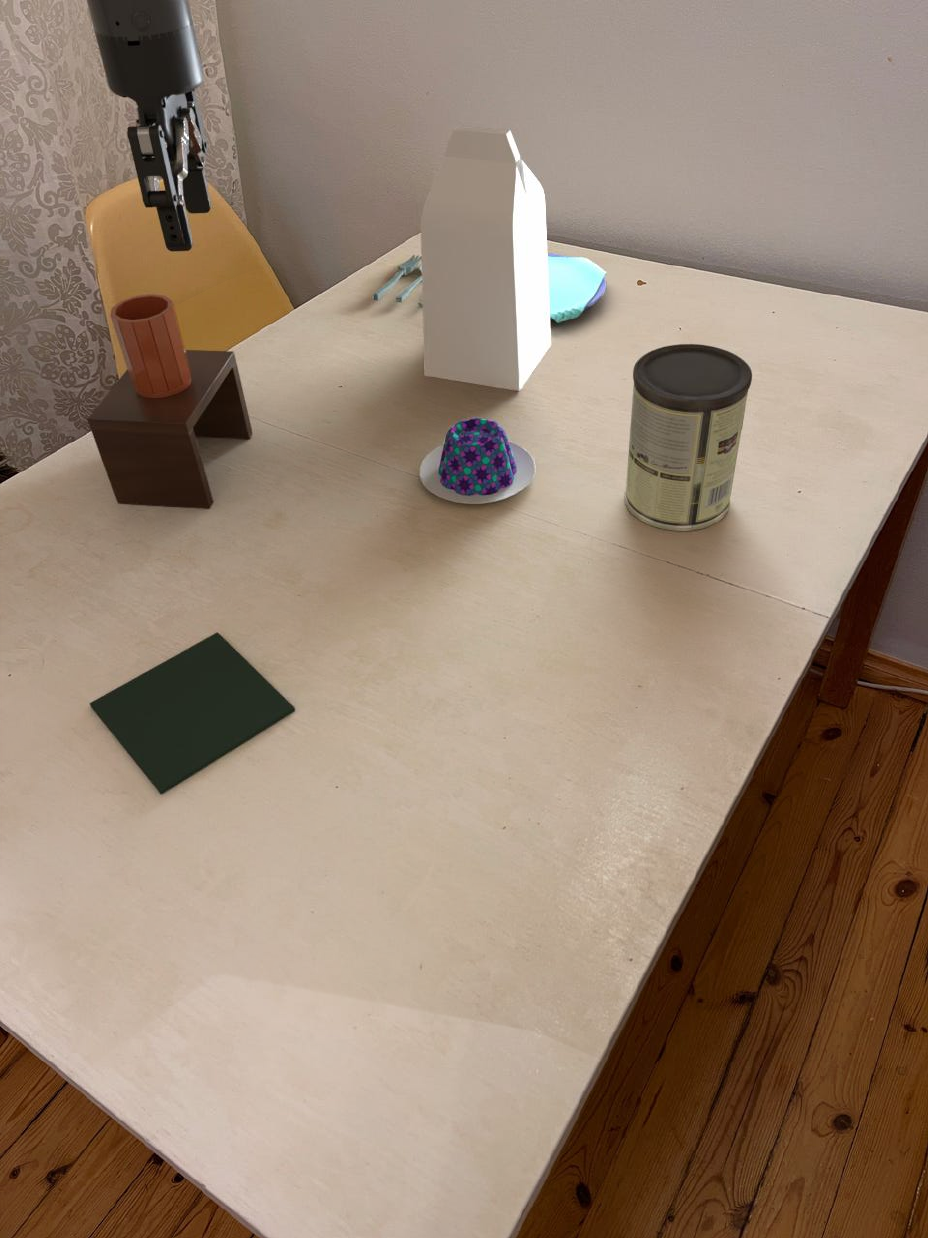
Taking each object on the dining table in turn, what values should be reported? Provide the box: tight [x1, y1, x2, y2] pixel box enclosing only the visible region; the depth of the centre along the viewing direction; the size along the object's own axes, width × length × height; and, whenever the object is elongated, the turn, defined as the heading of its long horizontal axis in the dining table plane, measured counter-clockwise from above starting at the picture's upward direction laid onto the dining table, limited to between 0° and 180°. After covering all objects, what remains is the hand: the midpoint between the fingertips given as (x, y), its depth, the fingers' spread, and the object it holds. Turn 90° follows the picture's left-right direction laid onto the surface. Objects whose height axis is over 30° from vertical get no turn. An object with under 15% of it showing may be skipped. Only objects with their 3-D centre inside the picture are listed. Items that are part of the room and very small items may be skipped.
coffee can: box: [624, 343, 753, 532], centre depth 90 cm, size 10×10×14 cm
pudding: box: [418, 417, 537, 505], centre depth 98 cm, size 12×12×5 cm
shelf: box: [86, 349, 254, 510], centre depth 100 cm, size 14×10×10 cm
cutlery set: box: [372, 252, 608, 323], centre depth 129 cm, size 20×30×2 cm, turn 69°
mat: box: [89, 631, 296, 795], centre depth 78 cm, size 12×12×1 cm
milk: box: [420, 125, 552, 392], centre depth 108 cm, size 12×12×26 cm
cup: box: [109, 293, 192, 398], centre depth 94 cm, size 6×6×8 cm
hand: (190, 229), depth 86 cm, fingers open, 8 cm apart
